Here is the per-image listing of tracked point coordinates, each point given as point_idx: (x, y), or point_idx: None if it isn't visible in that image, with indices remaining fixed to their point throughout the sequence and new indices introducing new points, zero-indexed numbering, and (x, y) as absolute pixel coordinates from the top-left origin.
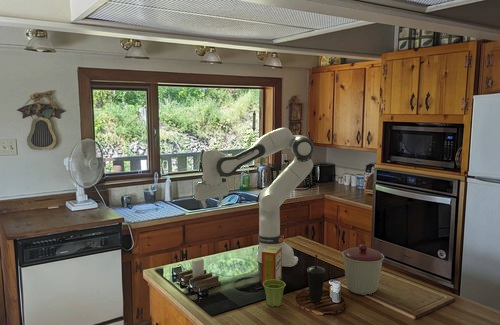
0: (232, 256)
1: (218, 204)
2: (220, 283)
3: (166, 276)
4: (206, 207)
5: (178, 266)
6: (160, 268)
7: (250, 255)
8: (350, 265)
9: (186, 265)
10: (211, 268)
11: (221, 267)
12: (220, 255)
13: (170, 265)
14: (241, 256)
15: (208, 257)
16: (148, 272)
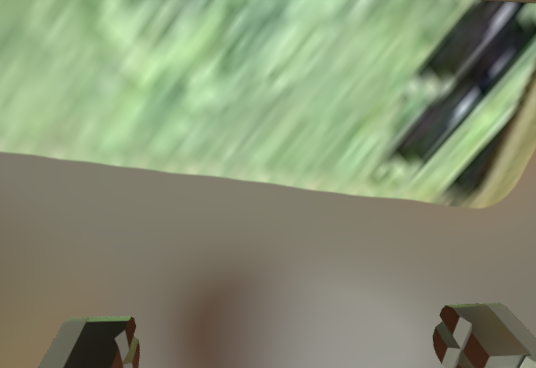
0: (127, 94)
1: (130, 341)
2: None
3: (510, 100)
4: (458, 304)
5: (397, 162)
6: (455, 191)
7: (27, 33)
8: None
9: (368, 149)
10: (318, 31)
11: (273, 2)
12: (170, 148)
13: (409, 192)
14: (84, 58)
15: (232, 164)
16: (511, 186)
